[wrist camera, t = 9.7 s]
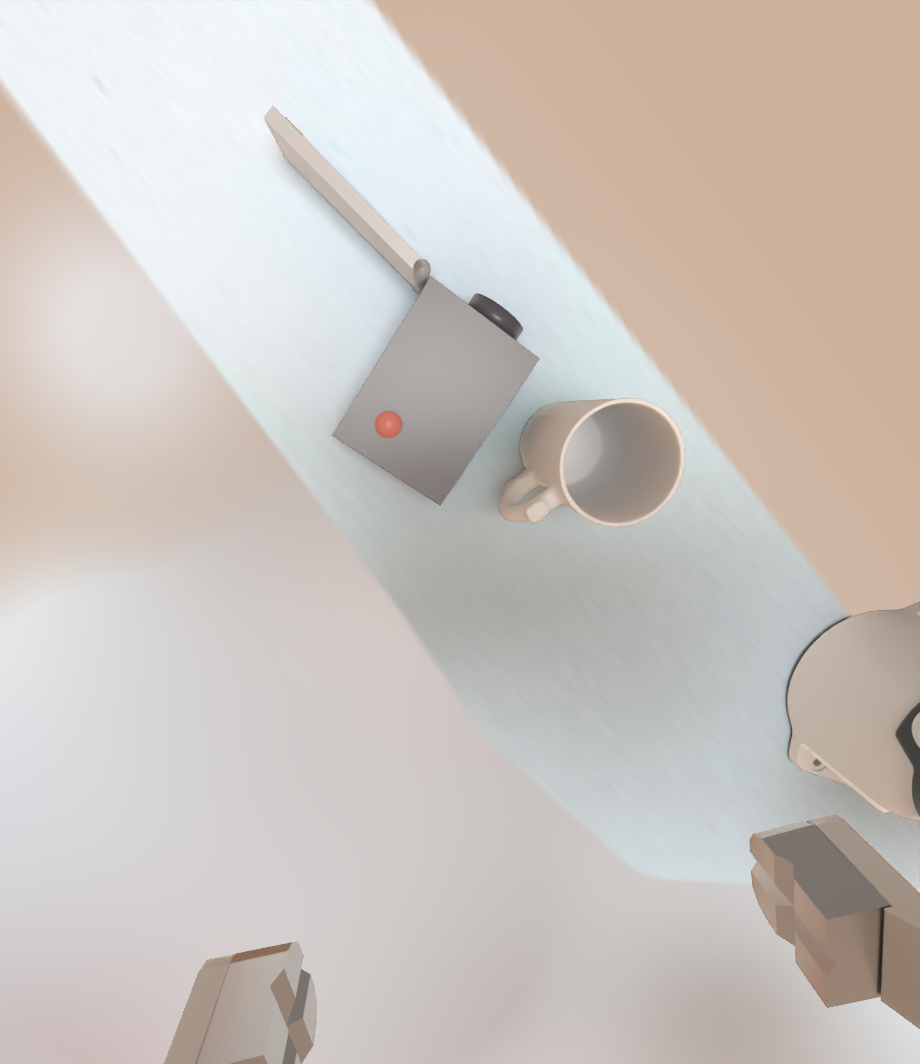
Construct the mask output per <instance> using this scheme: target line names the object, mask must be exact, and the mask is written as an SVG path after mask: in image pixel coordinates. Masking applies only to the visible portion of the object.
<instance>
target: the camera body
mask: <svg viewBox="0 0 920 1064" xmlns="http://www.w3.org/2000/svg"><path fill="white" fill-rule="evenodd" d="M522 331H523V328H522V326H521V324H520V323H519V322H518V321H517V320H516V318H515V317H514V316H512V315H511V314H510V313H509V312H508V311H507V310H506V309H504V308H503V307H502V306H500V305H499V304H497V303H496V302H494V301H493V300H491V299H489V298H488V297H486V296H483V295H481V294H474V296H473V297H472V299H471V301H470V302H469V304H467V303H466V302H464V301H463V300H462V299H460V298H459V297H458V296H456V295H455V294H454V293H452V292H451V291H450V290H448V289H447V288H446V287H444V286H443V285H442V284H441V283H439V282H438V281H437V280H435V279H434V278H433V277H430V279H429V280H428V282H427V284H426V285H425V287H424V288H423V290H422V292H421V293H420V295H419V297H418V298H417V300H416V301H415V303H414V305H413V306H412V308H411V309H410V311H409V313H408V314H407V316H406V317H405V319H404V321H403V322H402V324H401V326H400V327H399V329H398V330H397V332H396V334H395V335H394V337H393V338H392V340H391V342H390V343H389V345H388V346H387V348H386V350H385V351H384V353H383V355H382V356H381V358H380V359H379V361H378V363H377V364H376V366H375V367H374V369H373V371H372V372H371V374H370V375H369V377H368V379H367V380H366V382H365V384H364V385H363V387H362V388H361V390H360V392H359V393H358V395H357V396H356V398H355V400H354V401H353V403H352V404H351V406H350V408H349V409H348V411H347V413H346V414H345V416H344V417H343V419H342V421H341V422H340V424H339V425H338V427H337V429H336V430H335V432H334V433H333V435H332V436H334V437H335V438H337V439H338V440H340V441H342V442H343V443H345V444H346V445H348V446H349V447H351V448H352V449H354V450H355V451H357V452H358V453H360V454H362V455H363V456H365V457H366V458H368V459H369V460H371V461H372V462H374V463H375V464H377V465H379V466H380V467H382V468H383V469H385V470H386V471H388V472H389V473H391V474H392V475H394V476H395V477H397V478H399V479H400V480H402V481H403V482H405V483H406V484H408V485H409V486H411V487H412V488H414V489H415V490H417V491H419V492H420V493H422V494H423V495H425V496H426V497H428V498H429V499H431V500H432V501H434V502H435V503H437V504H439V505H441V504H442V502H443V501H444V499H445V498H446V496H447V495H448V493H449V492H450V490H451V489H452V487H453V486H454V484H455V483H456V482H457V480H458V479H459V477H460V476H461V474H462V473H463V471H464V470H465V468H466V467H467V465H468V464H469V462H470V461H471V459H472V458H473V456H474V455H475V453H476V452H477V451H478V449H479V448H480V446H481V445H482V443H483V442H484V440H485V439H486V437H487V436H488V434H489V433H490V431H491V430H492V428H493V427H494V425H495V424H496V423H497V421H498V420H499V418H500V417H501V415H502V414H503V412H504V411H505V409H506V408H507V406H508V405H509V403H510V402H511V400H512V399H513V397H514V396H515V394H516V393H517V392H518V390H519V389H520V387H521V386H522V384H523V383H524V381H525V380H526V378H527V377H528V375H529V374H530V372H531V371H532V369H533V368H534V366H535V365H536V363H537V362H538V361H539V358H538V357H537V356H536V355H534V354H533V353H532V352H530V351H529V350H528V349H526V348H525V347H524V346H522V345H521V344H520V343H518V342H517V341H516V340H517V338H518V337H519V335H520V334H521V332H522Z"/></svg>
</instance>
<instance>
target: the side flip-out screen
mask: <svg viewBox="0 0 920 1064" xmlns="http://www.w3.org/2000/svg"><path fill="white" fill-rule="evenodd" d="M264 119H265V121H266V123H267V125H268V127H269V129H270V131H271V133H272V134H273V136H274V138H275V140H276V142H277V144H278V146H279V148H280V149H281V151H282V153H283V155H284V157H285V159H286V160H287V161H288V162H289V163H290V164H291V165H292V166H293V167H294V168H295V169H296V170H297V171H298V172H299V173H300V174H301V175H302V176H303V177H304V178H305V179H306V180H307V181H308V182H309V183H310V184H311V185H312V186H313V187H314V188H315V189H316V190H317V191H318V192H319V193H320V194H321V195H322V196H323V197H324V198H325V199H326V200H327V201H328V202H329V203H330V204H331V205H332V206H333V207H334V208H335V209H336V210H337V211H338V212H339V213H340V214H341V215H342V216H343V217H344V218H345V219H346V220H347V221H348V222H349V223H350V224H351V225H352V226H353V227H354V228H355V229H356V230H357V231H358V232H359V233H360V234H361V235H362V236H363V237H364V238H365V239H366V240H367V241H368V242H369V243H370V244H371V245H372V246H373V247H374V248H375V249H376V250H377V251H378V252H379V253H380V254H381V255H382V256H383V257H384V258H385V259H386V260H387V261H388V262H389V263H390V264H391V265H392V266H393V267H394V268H395V269H396V270H397V271H398V272H399V273H400V274H401V275H402V276H403V277H404V278H405V279H406V280H407V281H408V282H409V283H410V284H411V285H412V286H413V287H414V290H415V291H416V292H417V293H418V294H420V293H421V292H422V290H423V288H424V287H425V285H426V284H427V282H428V280H429V277H430V265H429V263H428V262H427V261H426V260H424V259H422V258H421V257H420V256H419V255H418V254H417V253H416V252H415V251H414V250H413V249H412V248H411V247H410V246H409V245H408V244H407V243H406V242H405V240H404V239H403V238H402V237H401V236H400V235H399V234H398V233H397V232H396V231H395V230H394V229H393V228H392V227H391V226H390V225H389V224H388V223H387V222H386V221H385V220H384V219H383V218H382V217H381V216H380V215H379V214H378V213H377V212H376V211H375V210H374V209H373V208H372V207H371V206H370V205H369V204H368V202H367V201H366V200H365V199H364V198H363V197H362V196H361V195H360V194H359V193H358V192H357V191H356V190H355V189H354V188H353V187H352V186H351V185H350V184H349V183H348V182H347V181H346V180H345V179H344V178H343V177H342V176H341V175H340V174H339V173H338V172H337V171H336V170H335V169H334V168H333V167H332V166H331V164H330V163H329V162H328V161H327V160H326V159H325V158H324V157H323V156H322V155H321V154H320V153H319V152H318V151H317V150H316V149H315V148H314V147H313V146H312V145H311V144H310V143H309V142H308V141H307V140H306V139H305V138H304V136H303V134H302V133H301V132H300V131H299V130H298V129H297V128H296V127H295V126H294V125H293V124H292V123H291V122H290V121H289V120H288V119H287V118H286V117H284V116H283V115H282V114H281V113H280V112H279V111H278V110H277V109H276V108H275V107H274V106H272V108H271V109H270V110H269V111H268V113H267V114H266V115H265V117H264Z"/></svg>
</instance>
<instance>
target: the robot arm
mask: <svg viewBox="0 0 920 1064" xmlns="http://www.w3.org/2000/svg"><path fill="white" fill-rule="evenodd" d="M787 705H788V713H789V718H790V722H791V725H792V738H791V743H790V748H789V759H790V761H791V762H792V763H794V764H795V765H796V766H798V767H799V768H800V769H802V770H804V771H807V772H810V773H813V774H816V775H819V776H821V777H824V778H827V779H830V780H833V781H836V782H839V783H842V784H844V785H847V786H850V787H851V788H853V789H854V790H855V791H856V792H857V793H859V794H860V795H861V796H862V797H863V798H865V799H866V800H867V801H868V802H870V803H871V804H872V805H873V806H874V807H876V808H877V809H878V810H880V811H882V812H883V813H889V812H891V813H893V814H895V815H898V816H900V817H904V818H908V819H913V820H918V821H920V602H918V603H915V604H913V605H911V606H908V607H906V608H904V609H900V610H879V611H871V612H866V613H862V614H859V615H856V616H853V617H850V618H848V619H846V620H844V621H842V622H840V623H838V624H837V625H835V626H833V627H832V628H830V629H829V630H828V631H826V632H825V633H824V634H823V635H821V636H820V637H819V638H818V639H817V640H816V641H815V642H814V643H813V644H812V645H811V646H810V647H809V649H808V650H807V651H806V652H805V654H804V655H803V657H802V658H801V660H800V661H799V663H798V665H797V667H796V669H795V671H794V673H793V676H792V679H791V682H790V685H789V690H788V699H787ZM750 852H751V853H752V854H753V856H754V857H755V859H756V860H757V863H756V864H755V866H754V867H753V869H752V871H751V875H752V885H753V889H754V892H755V895H756V898H757V900H758V903H759V906H760V907H761V909H762V911H763V913H764V915H765V917H766V919H767V920H768V922H769V923H770V925H771V926H772V928H773V929H774V931H775V932H776V934H777V935H779V936H780V937H782V938H783V939H785V940H787V941H788V942H790V943H791V944H793V945H794V946H795V956H796V963H797V965H798V966H799V968H800V969H801V971H802V972H803V973H804V975H805V976H806V978H807V979H808V981H809V982H810V984H811V985H812V987H813V988H814V990H815V991H816V992H817V994H818V995H819V997H820V998H821V1000H822V1001H823V1003H824V1004H825V1006H826V1007H827V1008H829V1007H833V1006H838V1005H843V1004H848V1003H852V1002H857V1001H862V1000H867V999H872V998H877V997H881V1001H882V1002H884V1003H885V1004H886V1005H888V1006H889V1007H890V1008H892V1009H893V1010H895V1011H896V1012H897V1013H899V1014H900V1015H901V1016H903V1017H904V1018H905V1019H907V1020H908V1021H909V1022H911V1023H912V1024H913V1025H915V1026H916V1027H918V1028H919V1029H920V893H919V892H918V891H917V890H916V889H915V888H914V887H913V886H912V885H911V884H910V883H909V882H908V881H907V880H906V879H904V878H903V877H902V876H901V875H900V874H899V873H898V872H897V871H896V870H895V869H894V868H893V867H892V866H891V865H890V864H889V863H888V862H887V861H886V860H885V859H884V858H883V857H882V856H881V855H880V854H879V853H877V852H876V851H875V850H874V849H873V848H872V847H871V846H870V845H869V844H868V843H867V842H866V841H865V840H864V839H863V838H862V837H861V836H860V835H859V834H858V833H857V832H856V831H855V830H854V829H853V828H851V827H850V826H849V825H848V824H847V823H846V822H845V821H844V820H843V819H842V818H840V817H838V816H836V815H832V816H828V817H824V818H819V819H815V820H811V821H807V822H799V823H795V824H791V825H787V826H783V827H779V828H775V829H771V830H767V831H763V832H759V833H755V834H753V835H752V837H751V838H750ZM303 956H304V955H303V953H302V950H301V948H300V946H299V943H298V942H292V943H287V944H282V945H277V946H272V947H267V948H262V949H257V950H252V951H247V952H242V953H237V954H233V955H228V956H224V957H219V958H214V959H210V960H207V961H206V963H205V964H204V965H203V967H202V969H201V970H200V971H199V973H198V975H197V978H196V981H195V983H194V986H193V988H192V991H191V994H190V997H189V999H188V1002H187V1004H186V1007H185V1010H184V1012H183V1015H182V1018H181V1020H180V1023H179V1025H178V1028H177V1031H176V1034H175V1036H174V1038H173V1041H172V1044H171V1046H170V1049H169V1052H168V1055H167V1057H166V1059H165V1062H164V1064H302V1062H303V1061H304V1059H305V1057H306V1056H307V1054H308V1053H309V1051H310V1050H311V1048H312V1046H313V1042H314V1036H315V1029H316V994H315V988H314V984H313V981H312V978H311V975H310V974H309V973H307V972H305V971H304V970H302V969H301V966H302V961H303Z"/></svg>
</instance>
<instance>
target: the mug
mask: <svg viewBox="0 0 920 1064" xmlns="http://www.w3.org/2000/svg"><path fill="white" fill-rule="evenodd" d="M520 454H521V458H522V462H523V464H524V466H525V468H526V469H525V470H524V471H523V472H522V473H520V474H519V475H517V476H516V477H514V478H513V479H511V480H510V481H509V482H507V483H506V485H505V486H504V489H503V492H502V495H501V498H500V501H499V512H500V514H501V515H502V517H503V518H504V519H506V520H509V521H514V522H531V523H537V522H539V521H540V520H541V519H543V518H544V517H545V516H547V515H548V514H549V512H550V511H551V510H552V509H554V508H556V507H558V506H560V505H567V506H569V507H571V508H572V509H574V510H575V511H576V512H578V513H579V514H580V515H581V516H583V517H584V518H586V519H587V520H589V521H591V522H593V523H596V524H599V525H603V526H609V527H623V526H629V525H633V524H636V523H639V522H642V521H644V520H646V519H648V518H649V517H651V516H653V515H654V514H655V513H657V512H658V511H659V510H660V509H661V508H663V507H664V506H665V504H666V503H667V502H668V501H669V500H670V498H671V497H672V496H673V494H674V493H675V491H676V489H677V487H678V485H679V483H680V480H681V477H682V474H683V470H684V464H685V448H684V442H683V438H682V435H681V432H680V430H679V428H678V426H677V424H676V423H675V421H674V420H673V419H672V418H671V417H670V415H669V414H667V413H666V412H665V411H664V410H663V409H661V408H660V407H658V406H657V405H655V404H653V403H650V402H648V401H644V400H640V399H634V398H622V399H602V400H588V401H572V402H561V403H554V404H551V405H548V406H546V407H544V408H542V409H540V410H539V411H537V412H536V413H535V414H534V415H533V416H532V417H531V418H530V419H529V421H528V422H527V424H526V426H525V427H524V430H523V432H522V435H521V440H520ZM537 486H544V487H545V489H544V490H543V491H542V492H541V493H540V494H538V495H537V496H535V497H534V498H532V499H530V500H528V501H526V502H523V503H520V504H516V503H517V502H518V501H519V500H520V499H521V498H522V497H523V496H524V495H525V494H526V493H528V492H529V491H531V490H532V489H534V488H535V487H537Z"/></svg>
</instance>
